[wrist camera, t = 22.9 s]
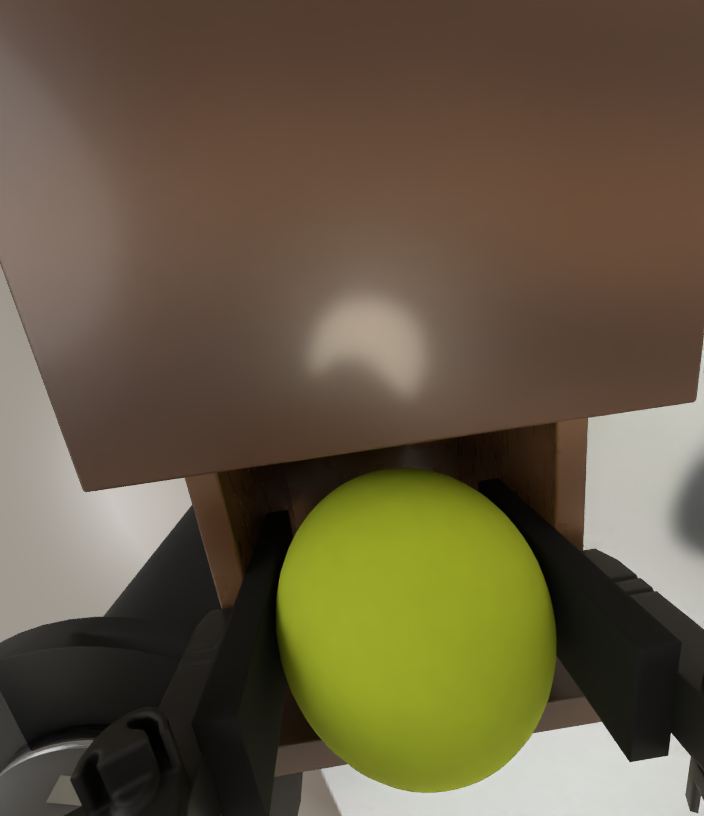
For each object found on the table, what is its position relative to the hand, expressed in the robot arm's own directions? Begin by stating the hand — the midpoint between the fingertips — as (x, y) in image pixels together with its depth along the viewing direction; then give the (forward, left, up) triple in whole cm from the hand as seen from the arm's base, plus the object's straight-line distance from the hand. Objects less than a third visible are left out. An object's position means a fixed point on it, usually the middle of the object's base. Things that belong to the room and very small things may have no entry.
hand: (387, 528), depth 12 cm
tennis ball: (0, 0, +3) cm, 3 cm away
